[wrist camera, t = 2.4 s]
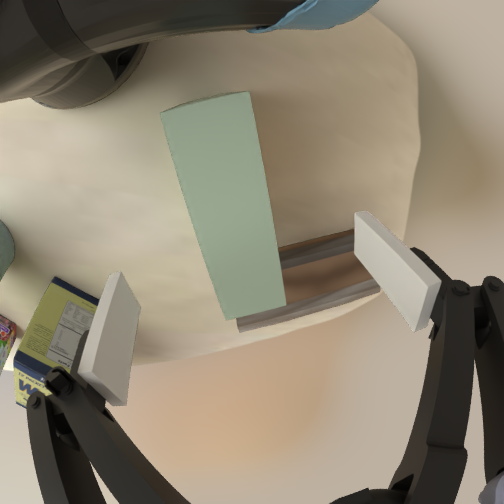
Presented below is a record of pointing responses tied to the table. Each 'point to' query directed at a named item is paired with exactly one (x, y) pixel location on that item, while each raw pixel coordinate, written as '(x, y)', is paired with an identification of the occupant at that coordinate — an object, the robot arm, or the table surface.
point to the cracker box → (228, 199)
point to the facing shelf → (316, 279)
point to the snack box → (6, 339)
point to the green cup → (5, 249)
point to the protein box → (51, 337)
